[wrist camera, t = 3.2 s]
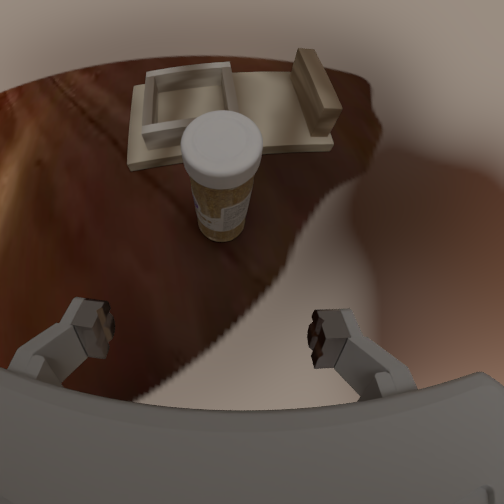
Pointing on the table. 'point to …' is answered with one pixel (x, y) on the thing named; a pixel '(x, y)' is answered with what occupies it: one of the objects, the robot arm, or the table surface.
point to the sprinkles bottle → (221, 170)
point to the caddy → (233, 107)
